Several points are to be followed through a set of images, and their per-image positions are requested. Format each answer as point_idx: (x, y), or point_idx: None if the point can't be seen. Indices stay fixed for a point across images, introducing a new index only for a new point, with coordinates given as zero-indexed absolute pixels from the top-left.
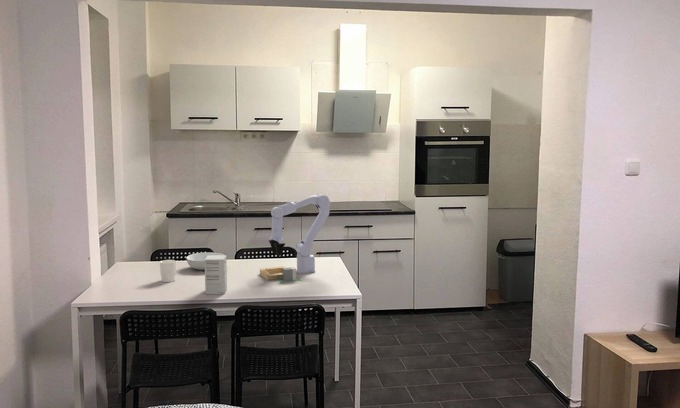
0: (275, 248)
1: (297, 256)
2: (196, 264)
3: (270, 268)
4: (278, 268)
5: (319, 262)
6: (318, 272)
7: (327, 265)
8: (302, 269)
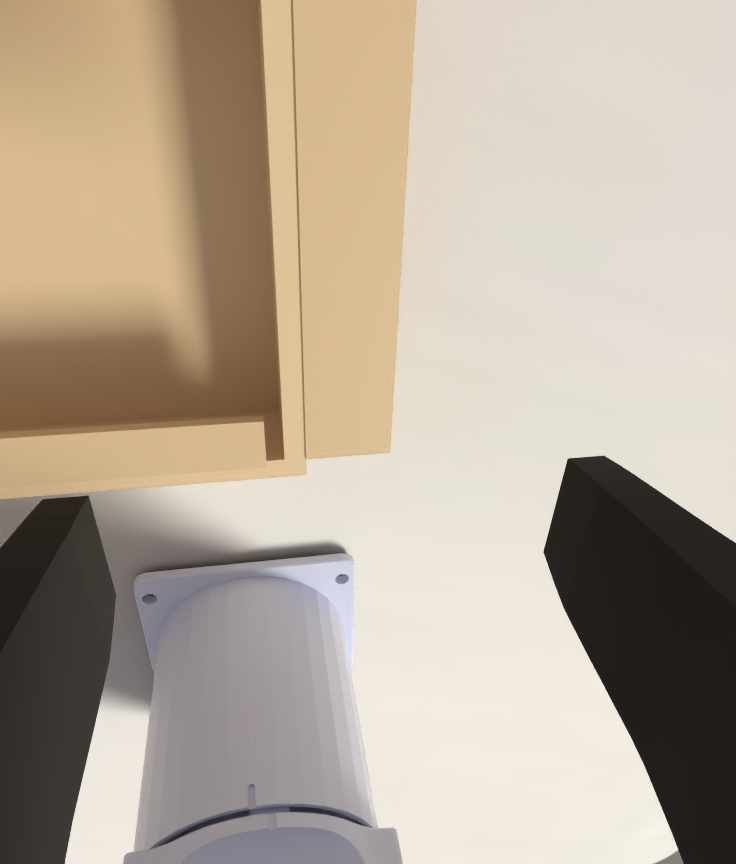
0: (629, 657)
1: (236, 809)
2: None
3: (297, 172)
4: (278, 348)
5: (561, 784)
6: (145, 742)
7: (411, 819)
8: (160, 652)
